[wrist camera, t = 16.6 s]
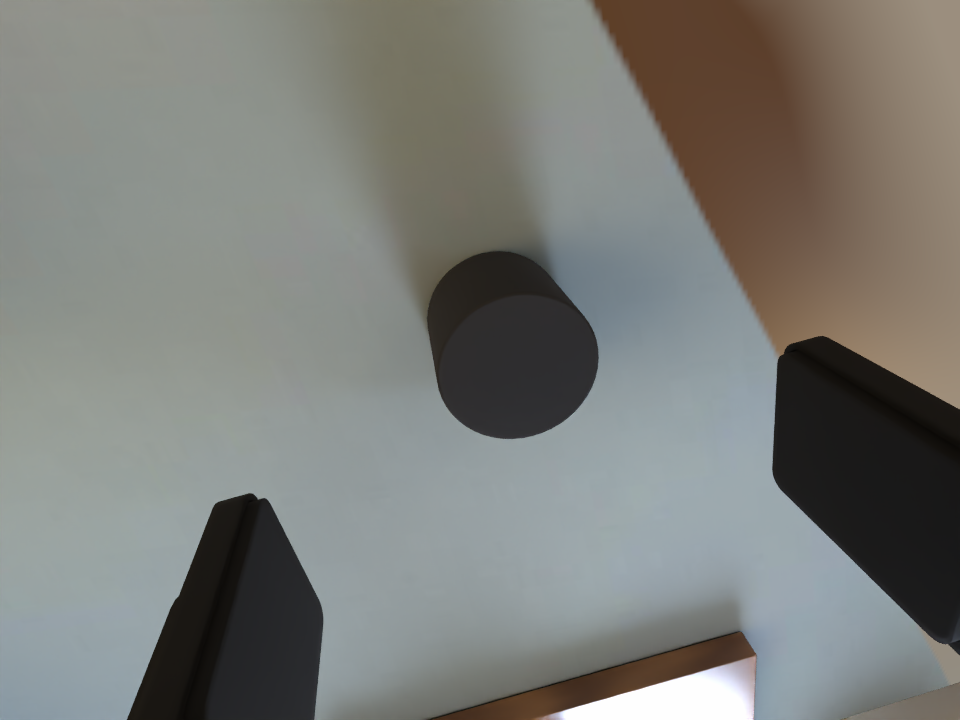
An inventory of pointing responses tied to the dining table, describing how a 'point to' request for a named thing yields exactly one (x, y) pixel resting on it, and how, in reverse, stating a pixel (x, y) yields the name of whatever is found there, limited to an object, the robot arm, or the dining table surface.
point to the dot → (509, 346)
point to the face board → (645, 689)
